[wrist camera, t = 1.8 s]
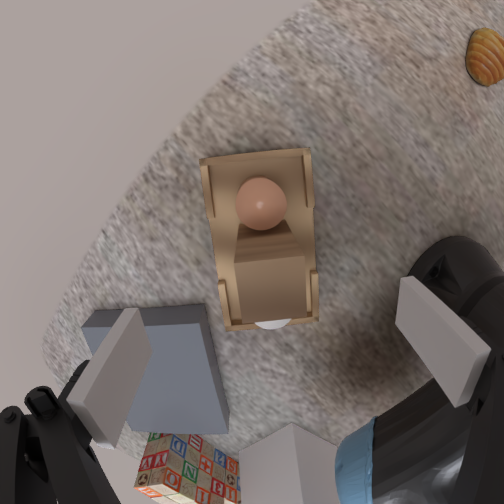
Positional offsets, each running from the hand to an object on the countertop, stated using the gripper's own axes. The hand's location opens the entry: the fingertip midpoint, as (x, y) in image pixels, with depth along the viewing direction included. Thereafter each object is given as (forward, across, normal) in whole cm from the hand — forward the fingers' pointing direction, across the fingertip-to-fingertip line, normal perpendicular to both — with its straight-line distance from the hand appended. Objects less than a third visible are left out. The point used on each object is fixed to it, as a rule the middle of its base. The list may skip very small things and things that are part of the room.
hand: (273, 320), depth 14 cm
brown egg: (+13, 0, -4) cm, 14 cm away
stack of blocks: (+16, +13, +38) cm, 43 cm away
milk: (+16, -1, +37) cm, 41 cm away
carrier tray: (+17, 0, 0) cm, 17 cm away
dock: (+16, +14, +16) cm, 27 cm away
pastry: (+17, -32, -20) cm, 41 cm away
